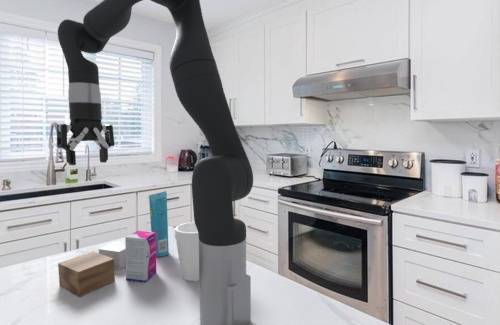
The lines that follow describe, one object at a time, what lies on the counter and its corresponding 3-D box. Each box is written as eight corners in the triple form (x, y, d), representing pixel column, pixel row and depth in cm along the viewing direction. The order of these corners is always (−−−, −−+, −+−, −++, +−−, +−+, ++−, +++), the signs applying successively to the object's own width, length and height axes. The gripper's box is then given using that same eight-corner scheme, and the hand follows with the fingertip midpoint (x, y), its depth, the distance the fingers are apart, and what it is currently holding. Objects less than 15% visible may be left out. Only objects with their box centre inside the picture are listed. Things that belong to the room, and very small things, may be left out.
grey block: (136, 259, 94) (135, 243, 93) (119, 269, 87) (119, 251, 87) (117, 256, 96) (116, 240, 96) (99, 266, 89) (98, 249, 89)
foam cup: (168, 277, 83) (167, 228, 81) (194, 264, 90) (193, 220, 89) (194, 287, 77) (193, 235, 76) (219, 273, 85) (219, 226, 83)
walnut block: (115, 281, 80) (113, 258, 80) (79, 297, 73) (78, 272, 72) (94, 272, 85) (93, 251, 85) (59, 286, 78) (58, 263, 77)
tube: (161, 248, 102) (159, 190, 100) (173, 250, 101) (172, 191, 99) (146, 257, 95) (143, 194, 94) (159, 259, 94) (157, 195, 92)
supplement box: (146, 283, 80) (145, 238, 78) (125, 280, 81) (123, 237, 80) (157, 272, 85) (156, 231, 84) (137, 270, 86) (136, 230, 85)
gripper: (64, 99, 75) (68, 167, 77) (118, 103, 87) (120, 162, 89) (49, 100, 79) (53, 165, 81) (102, 104, 91) (105, 160, 93)
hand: (88, 163), depth 85 cm, fingers open, 8 cm apart
